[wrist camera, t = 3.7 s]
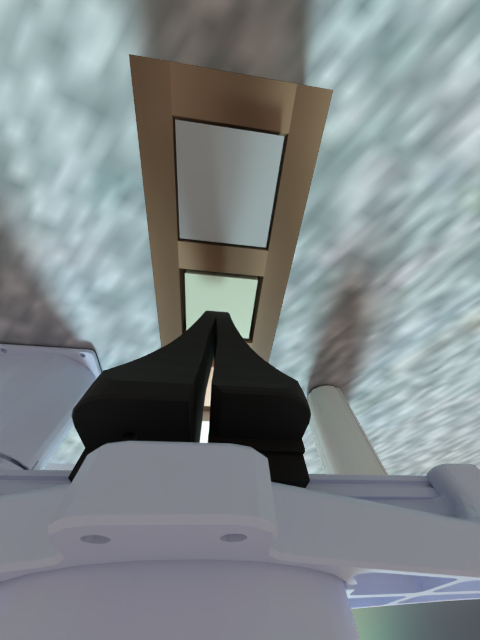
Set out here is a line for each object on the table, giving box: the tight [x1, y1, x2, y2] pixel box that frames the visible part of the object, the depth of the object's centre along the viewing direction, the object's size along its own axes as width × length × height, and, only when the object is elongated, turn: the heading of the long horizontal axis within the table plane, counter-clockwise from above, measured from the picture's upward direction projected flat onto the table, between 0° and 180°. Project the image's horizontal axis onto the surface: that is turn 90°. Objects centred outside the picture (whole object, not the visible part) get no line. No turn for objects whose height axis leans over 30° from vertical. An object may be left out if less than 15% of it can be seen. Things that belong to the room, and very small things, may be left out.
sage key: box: [185, 269, 258, 339], centre depth 14 cm, size 4×4×2 cm
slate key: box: [175, 120, 284, 248], centre depth 10 cm, size 4×4×2 cm
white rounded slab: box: [308, 385, 388, 475], centre depth 21 cm, size 10×4×12 cm, turn 14°
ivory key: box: [200, 411, 210, 443], centre depth 20 cm, size 4×4×2 cm
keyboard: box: [129, 54, 333, 411], centre depth 17 cm, size 8×28×4 cm, turn 174°
